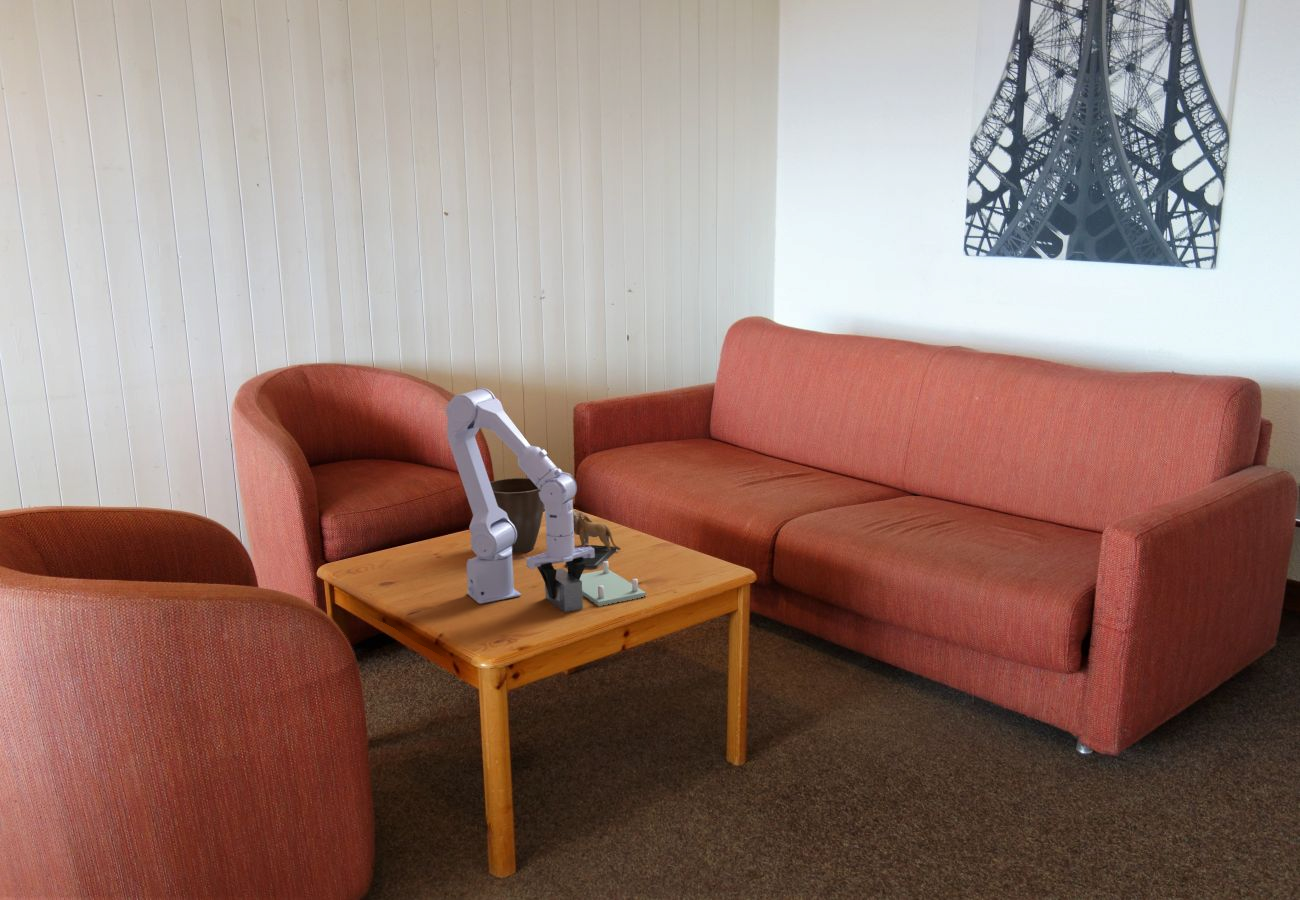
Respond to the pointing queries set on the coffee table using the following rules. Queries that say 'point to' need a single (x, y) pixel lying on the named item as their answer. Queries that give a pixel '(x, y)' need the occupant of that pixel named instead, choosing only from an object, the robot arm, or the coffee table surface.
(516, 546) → the plant pot
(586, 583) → the pin tray
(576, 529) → the lion figurine
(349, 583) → the coffee table surface
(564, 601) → the block
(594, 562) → the phone
